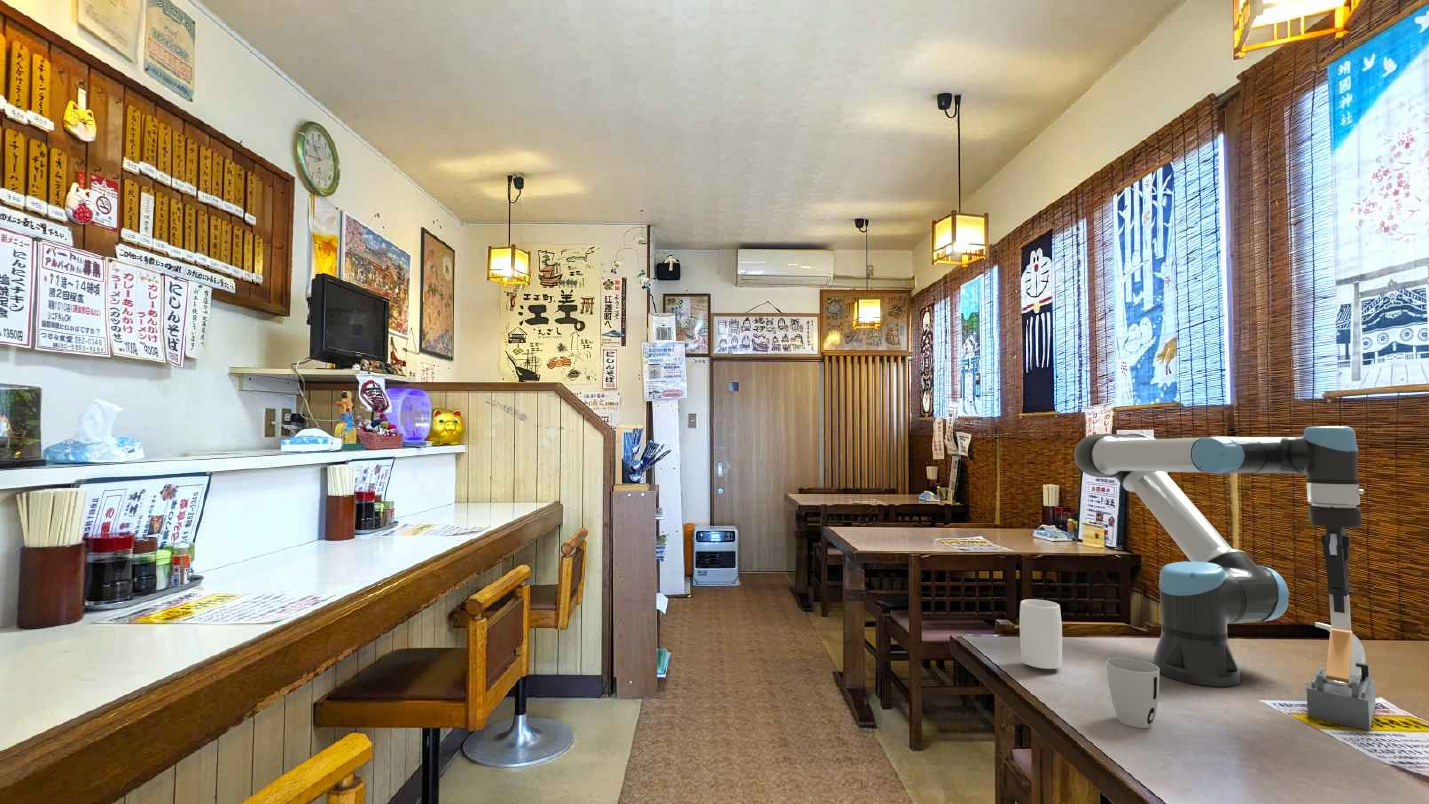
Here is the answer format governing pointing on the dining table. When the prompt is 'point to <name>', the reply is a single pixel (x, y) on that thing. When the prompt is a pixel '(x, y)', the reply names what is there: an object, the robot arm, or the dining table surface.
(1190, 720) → the dining table surface
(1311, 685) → the block
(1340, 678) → the tan flat bar
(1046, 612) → the cup
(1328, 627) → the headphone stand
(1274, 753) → the dining table surface
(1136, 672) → the cup
